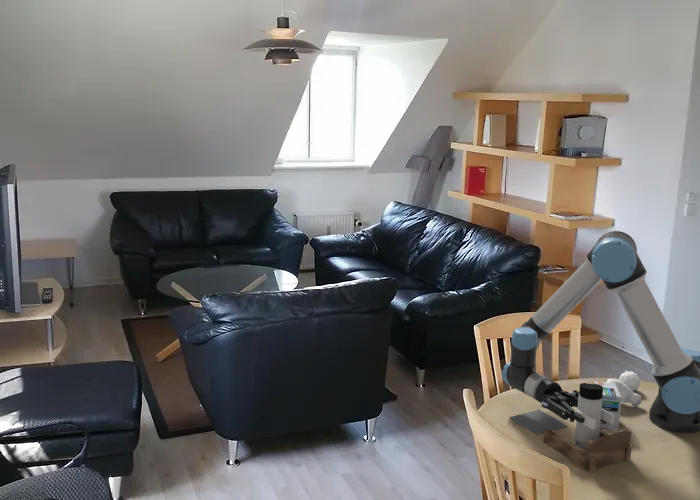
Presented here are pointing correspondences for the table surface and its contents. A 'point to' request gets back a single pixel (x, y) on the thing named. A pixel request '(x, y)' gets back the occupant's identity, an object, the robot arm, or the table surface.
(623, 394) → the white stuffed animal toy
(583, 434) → the travel mug
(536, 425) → the grey mat
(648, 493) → the table surface
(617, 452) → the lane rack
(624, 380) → the ornament
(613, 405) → the light bulb box
